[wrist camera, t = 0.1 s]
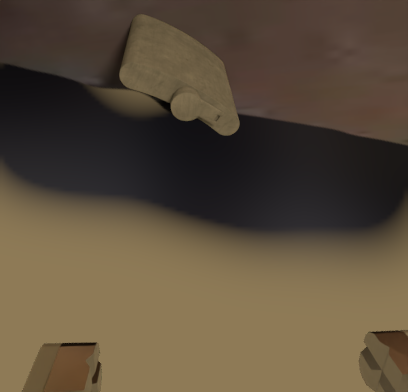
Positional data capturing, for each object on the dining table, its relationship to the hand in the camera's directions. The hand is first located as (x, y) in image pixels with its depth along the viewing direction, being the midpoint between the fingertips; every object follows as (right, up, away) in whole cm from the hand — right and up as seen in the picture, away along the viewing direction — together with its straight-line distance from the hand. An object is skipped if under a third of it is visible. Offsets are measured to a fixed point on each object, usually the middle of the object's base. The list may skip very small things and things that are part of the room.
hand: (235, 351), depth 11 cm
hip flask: (-4, +28, +45) cm, 53 cm away
